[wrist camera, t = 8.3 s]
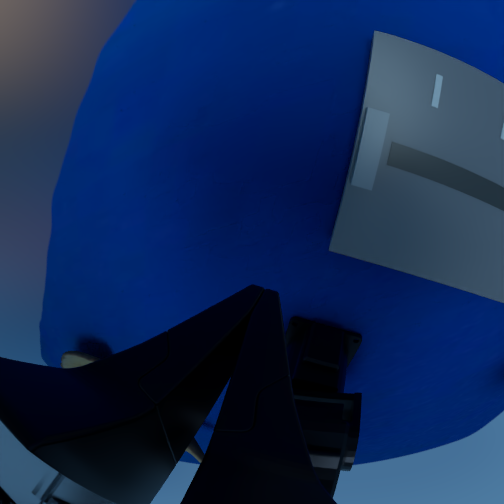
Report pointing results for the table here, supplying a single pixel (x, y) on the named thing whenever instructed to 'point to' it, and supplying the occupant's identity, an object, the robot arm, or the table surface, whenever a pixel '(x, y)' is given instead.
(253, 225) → the table surface
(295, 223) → the table surface
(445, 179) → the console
